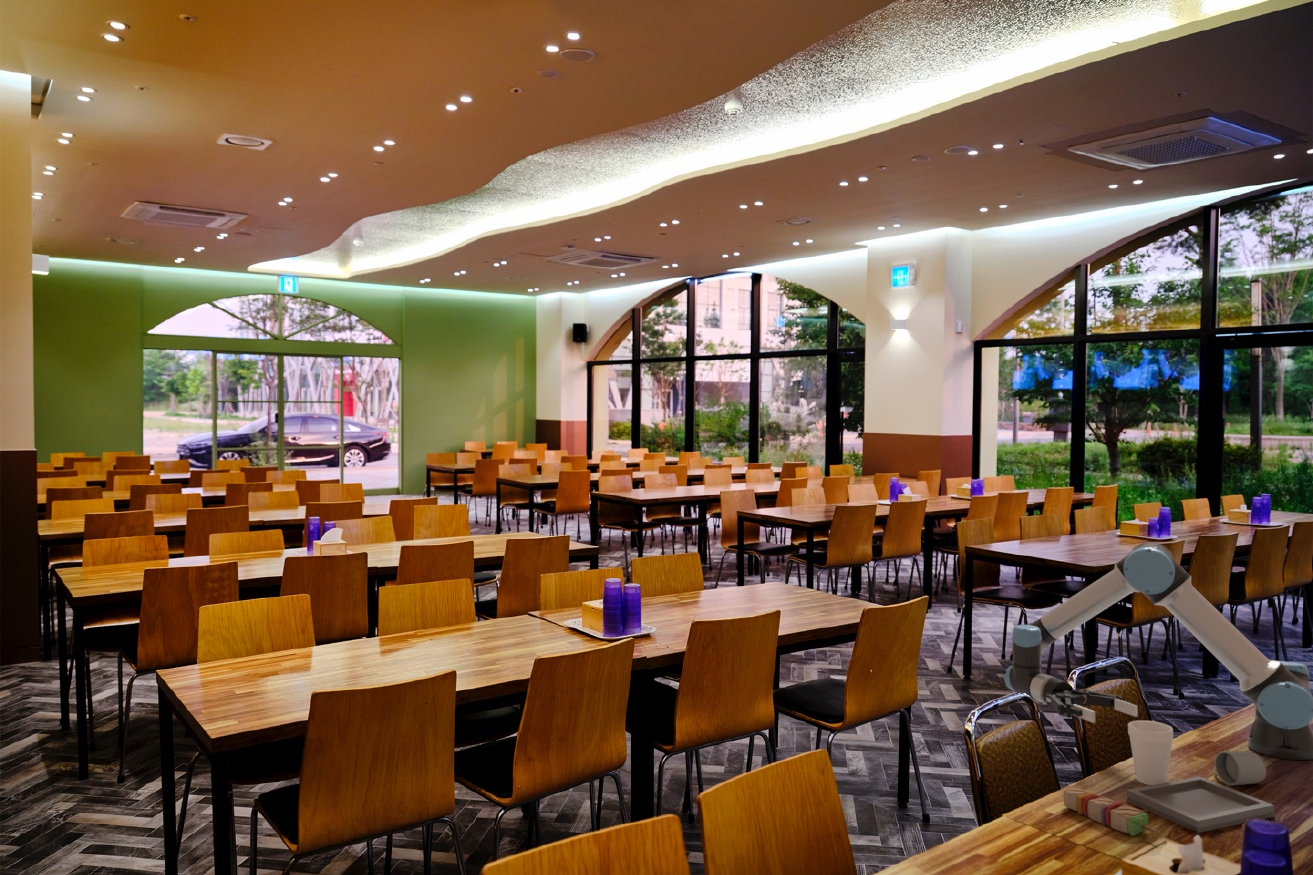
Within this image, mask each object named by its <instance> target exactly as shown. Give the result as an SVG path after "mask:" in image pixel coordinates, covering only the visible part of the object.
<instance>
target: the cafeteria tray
mask: <svg viewBox="0 0 1313 875" xmlns="http://www.w3.org/2000/svg"><path fill="white" fill-rule="evenodd" d="M1126 801H1127V802H1129V803H1131V804H1133V805H1135V806H1137V807H1139V808H1142V809H1143V810H1146V811H1149V812H1151V813H1153V814H1155V815H1158V816H1159V817H1161V818H1164V819H1167V820H1168V821H1170V822H1172V823H1174V824H1177V825H1178V826H1179V825H1180V826H1182V827H1184V828H1185V829H1188V830H1191V831H1193V832H1194V833H1196V834H1200V833H1205V832H1210V831H1213V830H1219V829H1224V828H1228V827H1231V826H1232V827H1233V826H1237V825H1241V824H1246V823H1245V822H1246V820H1247V819H1250V818H1261V820H1266V819H1269V818H1274V817H1275V805H1274V804H1272V803H1270V802H1268V801H1264V800H1262V799H1260V798H1256V797H1253V796H1252V795H1249V794H1246V793H1243V792H1241V791H1239V790H1235V789H1234V788H1232V787H1228V786H1226V785H1223V784H1220V783H1217V782H1215V781H1213V780H1210V779H1207V778H1205V777H1202V776H1199V775H1198V776H1194V777H1193V776H1192V777H1189V778H1183V779H1177V780H1172V781H1167V782H1166V783H1161V784H1156V785H1146V786H1141V787H1135V788H1134V787H1133V788H1129V789H1127V790H1126Z"/></svg>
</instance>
